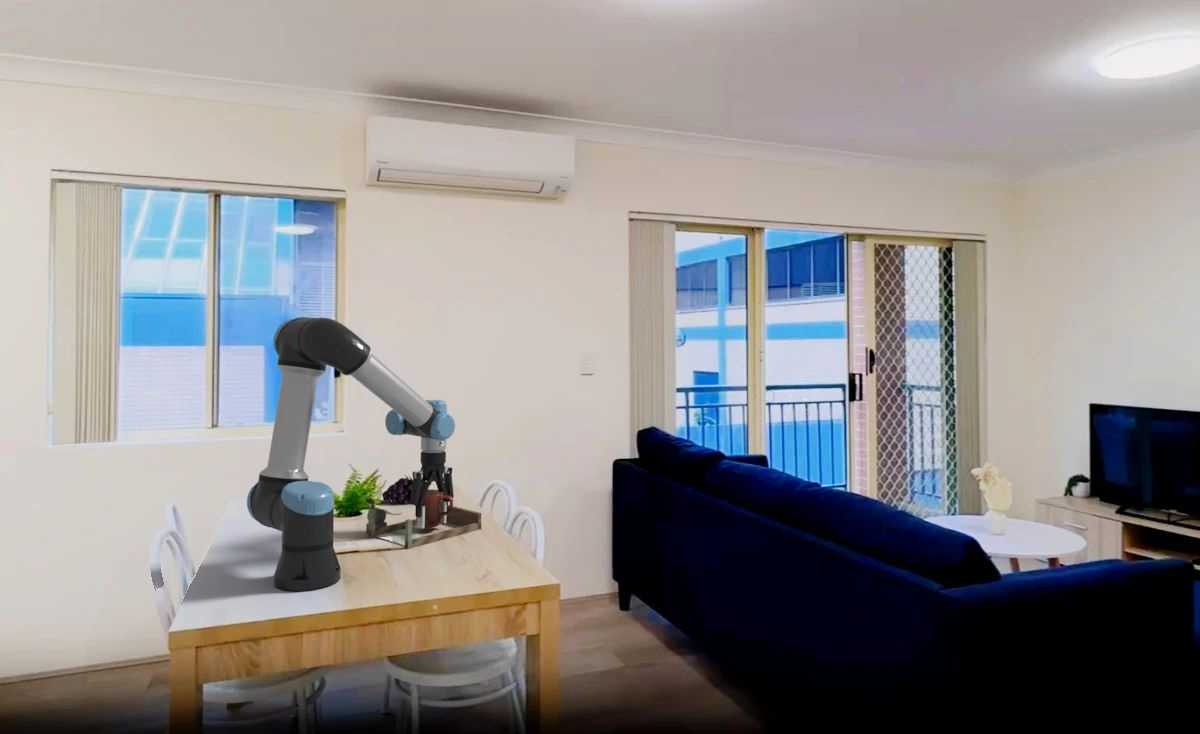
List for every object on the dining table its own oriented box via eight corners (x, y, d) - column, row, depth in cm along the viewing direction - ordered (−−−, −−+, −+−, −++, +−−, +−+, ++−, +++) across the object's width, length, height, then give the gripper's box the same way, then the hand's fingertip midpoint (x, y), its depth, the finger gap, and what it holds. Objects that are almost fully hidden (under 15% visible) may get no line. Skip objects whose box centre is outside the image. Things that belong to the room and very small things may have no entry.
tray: (408, 549, 204) (408, 514, 204) (355, 532, 219) (356, 500, 219) (481, 528, 226) (481, 497, 226) (429, 515, 241) (429, 485, 241)
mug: (409, 528, 219) (409, 495, 219) (419, 521, 228) (419, 488, 227) (448, 530, 218) (448, 496, 217) (457, 522, 227) (457, 490, 226)
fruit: (385, 510, 260) (426, 496, 265) (388, 512, 250) (430, 498, 256) (377, 482, 260) (418, 469, 266) (380, 483, 250) (422, 470, 256)
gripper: (414, 455, 211) (412, 533, 212) (467, 448, 227) (465, 521, 228) (397, 452, 216) (396, 528, 216) (451, 446, 232) (449, 516, 233)
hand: (431, 524), depth 222 cm, fingers closed on mug, 8 cm apart
